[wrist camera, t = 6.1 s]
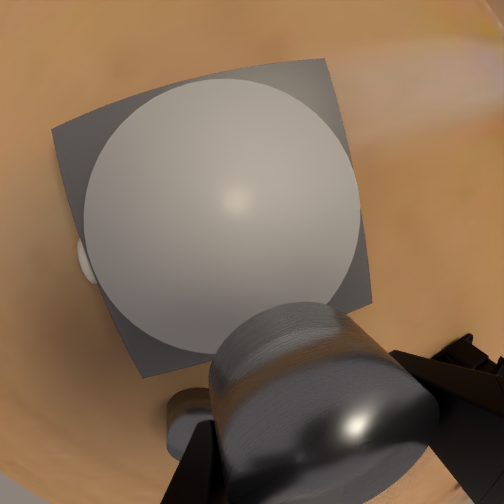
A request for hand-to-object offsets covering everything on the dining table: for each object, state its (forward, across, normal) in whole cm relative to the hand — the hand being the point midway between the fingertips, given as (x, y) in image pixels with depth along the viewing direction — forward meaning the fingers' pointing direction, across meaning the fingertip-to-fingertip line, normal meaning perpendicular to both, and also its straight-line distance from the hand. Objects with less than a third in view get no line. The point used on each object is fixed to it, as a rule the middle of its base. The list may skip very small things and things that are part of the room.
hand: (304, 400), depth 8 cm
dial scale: (+12, 0, -4) cm, 13 cm away
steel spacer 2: (+1, 0, 0) cm, 1 cm away
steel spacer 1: (+12, +6, +10) cm, 17 cm away
